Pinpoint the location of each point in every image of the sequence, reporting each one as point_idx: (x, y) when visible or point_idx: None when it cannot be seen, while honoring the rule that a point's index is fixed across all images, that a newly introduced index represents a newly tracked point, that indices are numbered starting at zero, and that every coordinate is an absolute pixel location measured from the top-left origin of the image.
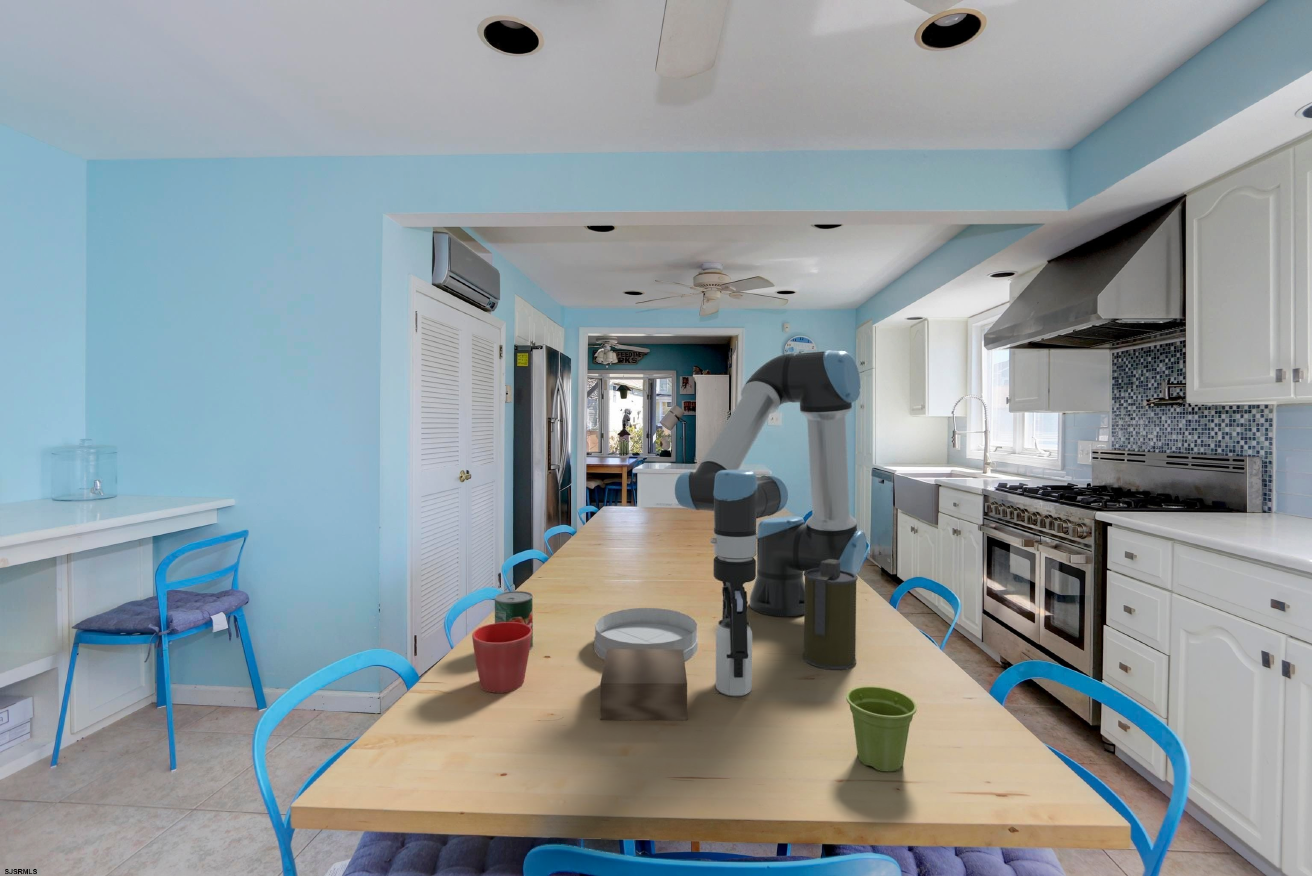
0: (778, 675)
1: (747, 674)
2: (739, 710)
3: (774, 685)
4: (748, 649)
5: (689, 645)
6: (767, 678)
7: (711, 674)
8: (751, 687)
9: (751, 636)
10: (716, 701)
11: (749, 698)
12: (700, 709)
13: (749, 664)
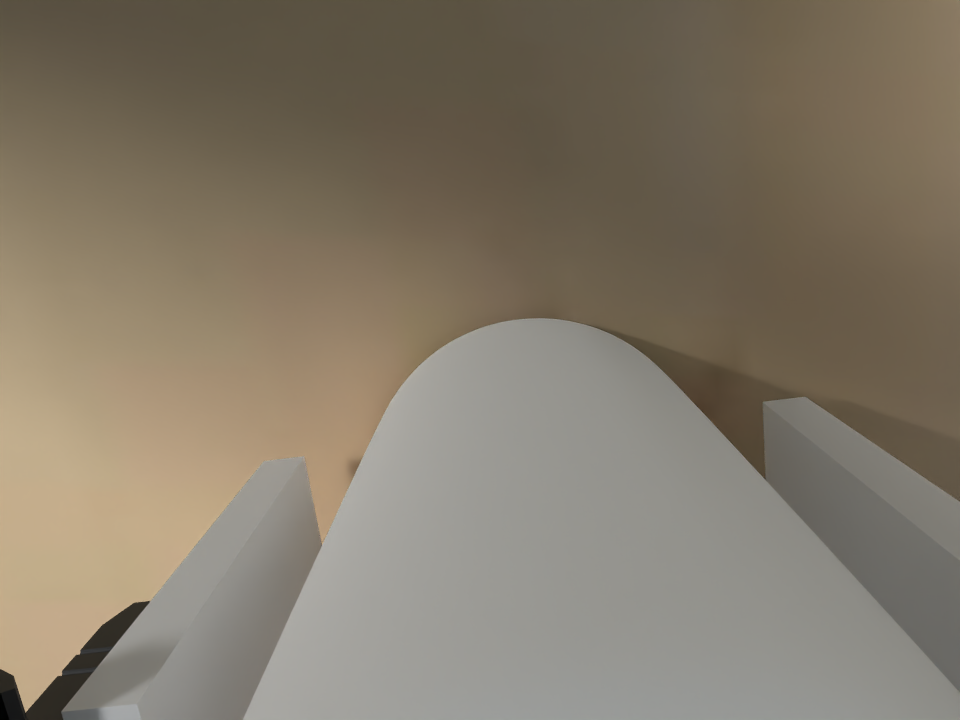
0: (147, 15)
1: (705, 416)
2: (924, 427)
3: (398, 78)
4: (834, 562)
5: None
6: (247, 143)
7: None
8: (571, 323)
9: (817, 648)
10: None
11: (701, 337)
12: None
13: (712, 431)
